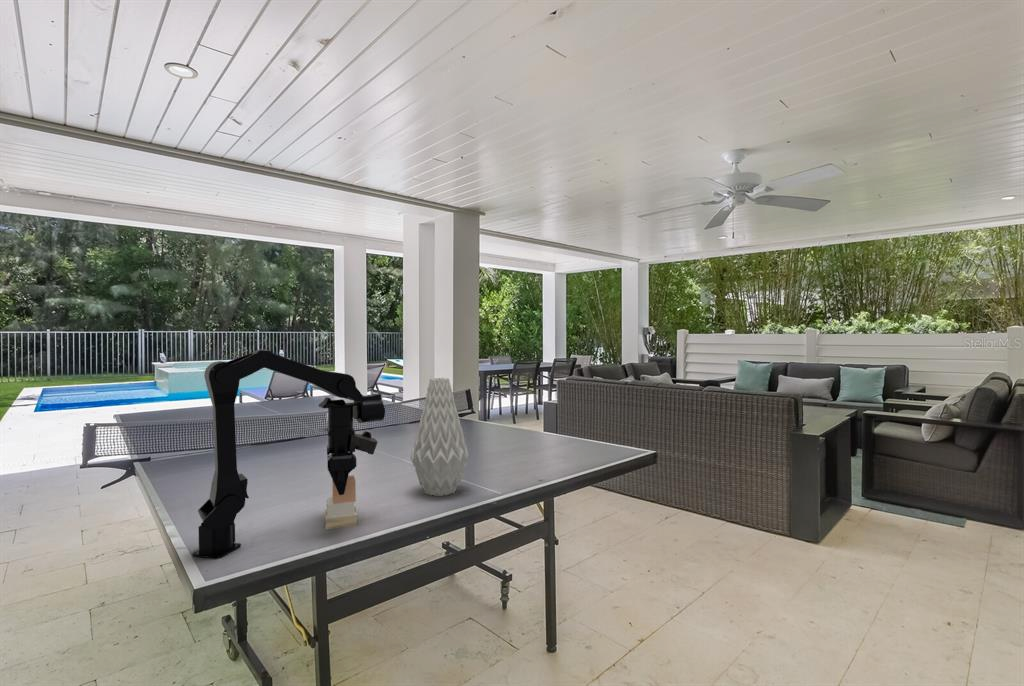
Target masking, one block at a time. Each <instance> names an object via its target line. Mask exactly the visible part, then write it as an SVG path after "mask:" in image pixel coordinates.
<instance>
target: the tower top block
mask: <svg viewBox="0 0 1024 686" xmlns="http://www.w3.org/2000/svg"><path fill="white" fill-rule="evenodd" d="M354 506H355V501H353V502H345V503H337V504H333V496H330V497H326V509H327V515H328V518H331V517H339V516H346V515H354V514H355V509H354Z"/></svg>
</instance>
